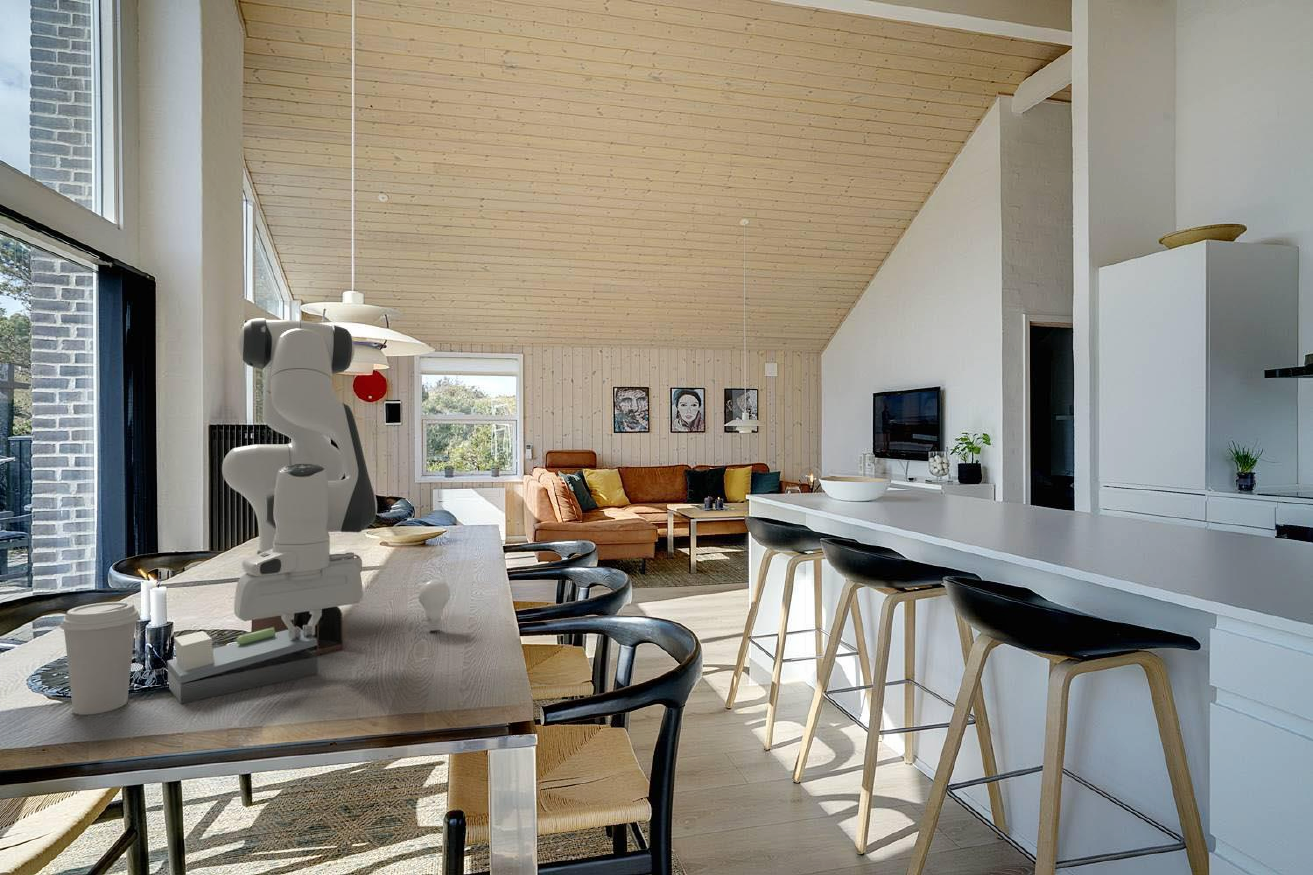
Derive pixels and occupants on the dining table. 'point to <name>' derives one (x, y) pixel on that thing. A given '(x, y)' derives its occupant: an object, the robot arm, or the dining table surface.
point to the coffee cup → (99, 655)
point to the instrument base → (246, 676)
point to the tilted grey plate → (230, 652)
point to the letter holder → (325, 629)
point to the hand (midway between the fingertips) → (301, 636)
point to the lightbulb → (434, 601)
